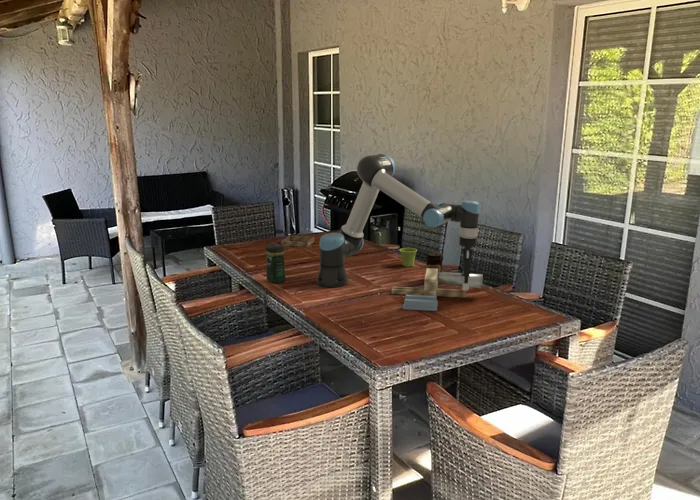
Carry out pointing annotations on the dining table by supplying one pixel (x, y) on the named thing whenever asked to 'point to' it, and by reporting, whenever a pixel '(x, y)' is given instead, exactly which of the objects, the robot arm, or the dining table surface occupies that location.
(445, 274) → the axle
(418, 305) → the v block
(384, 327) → the dining table surface
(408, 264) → the plant pot
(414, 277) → the dining table surface
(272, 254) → the coffee jar
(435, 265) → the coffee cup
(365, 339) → the dining table surface
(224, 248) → the dining table surface
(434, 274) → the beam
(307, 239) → the can corral
